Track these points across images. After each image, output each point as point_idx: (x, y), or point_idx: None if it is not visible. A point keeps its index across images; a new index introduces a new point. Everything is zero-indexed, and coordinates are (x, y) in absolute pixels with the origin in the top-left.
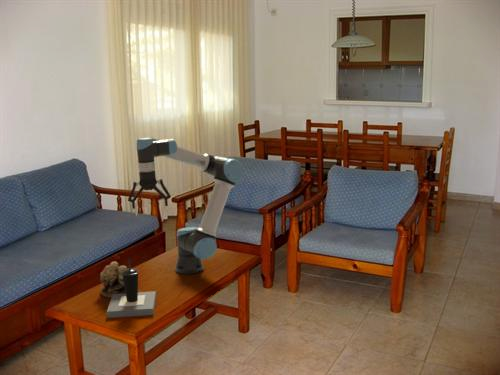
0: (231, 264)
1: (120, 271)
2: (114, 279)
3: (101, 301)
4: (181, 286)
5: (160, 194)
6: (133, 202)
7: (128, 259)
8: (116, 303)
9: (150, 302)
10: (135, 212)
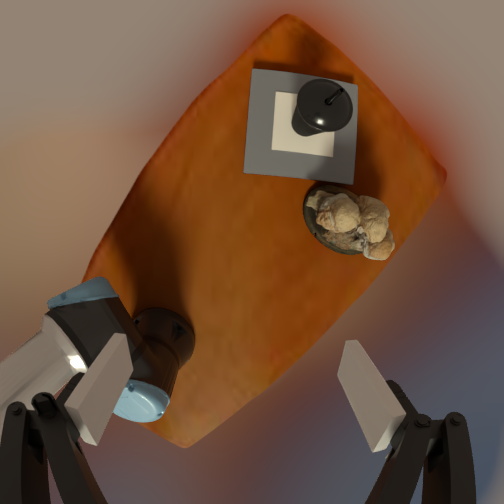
0: None
1: (351, 200)
2: (360, 195)
3: (371, 184)
4: (177, 231)
5: (75, 471)
6: (409, 419)
7: (343, 89)
8: None
9: (258, 102)
10: (366, 354)
